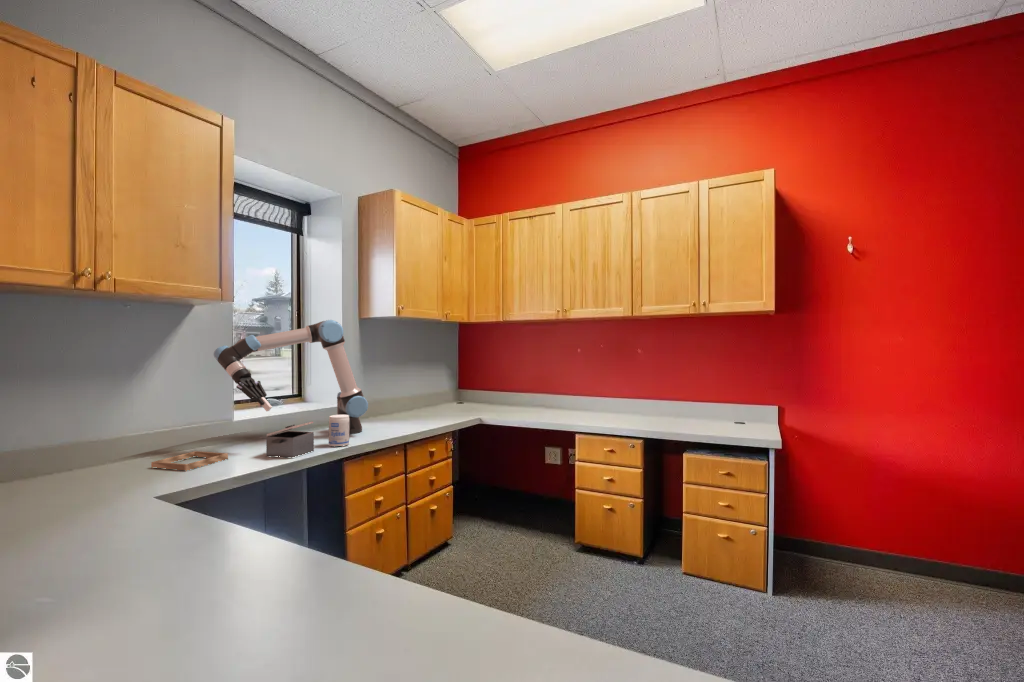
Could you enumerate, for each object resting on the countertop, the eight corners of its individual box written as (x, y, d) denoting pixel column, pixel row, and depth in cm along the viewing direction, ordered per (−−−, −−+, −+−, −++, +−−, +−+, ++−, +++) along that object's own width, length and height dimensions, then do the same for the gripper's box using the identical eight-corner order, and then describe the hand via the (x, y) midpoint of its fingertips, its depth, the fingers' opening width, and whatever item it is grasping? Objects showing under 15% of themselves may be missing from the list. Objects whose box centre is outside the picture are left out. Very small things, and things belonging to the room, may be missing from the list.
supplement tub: (330, 448, 231) (329, 417, 231) (327, 444, 239) (327, 415, 239) (351, 446, 236) (350, 416, 236) (347, 442, 244) (347, 413, 244)
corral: (195, 456, 215) (195, 451, 215) (227, 459, 210) (227, 453, 210) (151, 468, 196) (151, 462, 196) (186, 471, 191) (186, 464, 191)
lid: (287, 430, 229) (286, 427, 229) (313, 423, 225) (312, 419, 225) (265, 436, 215) (264, 432, 215) (292, 428, 211) (291, 424, 212)
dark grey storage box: (291, 448, 231) (291, 429, 231) (317, 450, 227) (316, 431, 227) (262, 457, 213) (262, 437, 213) (289, 459, 209) (289, 439, 209)
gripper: (245, 377, 234) (274, 412, 230) (223, 379, 221) (253, 417, 217) (254, 366, 232) (284, 401, 229) (232, 368, 220) (263, 405, 216)
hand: (269, 409), depth 223 cm, fingers closed
